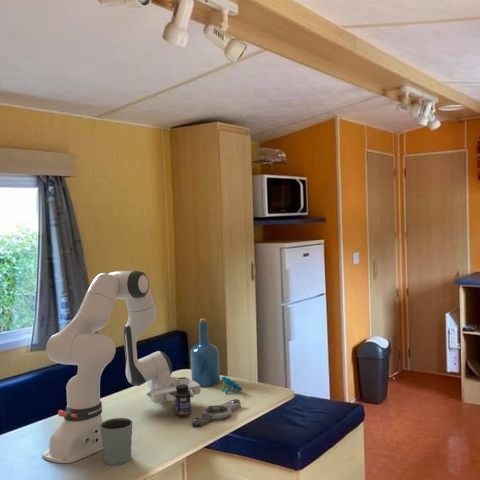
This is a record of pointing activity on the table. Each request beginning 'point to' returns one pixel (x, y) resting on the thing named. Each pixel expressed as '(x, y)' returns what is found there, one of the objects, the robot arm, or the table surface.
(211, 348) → the wine bottle
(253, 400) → the table surface
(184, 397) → the pill bottle
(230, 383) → the blue jointed connector toy
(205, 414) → the octagon ring handle
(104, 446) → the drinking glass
